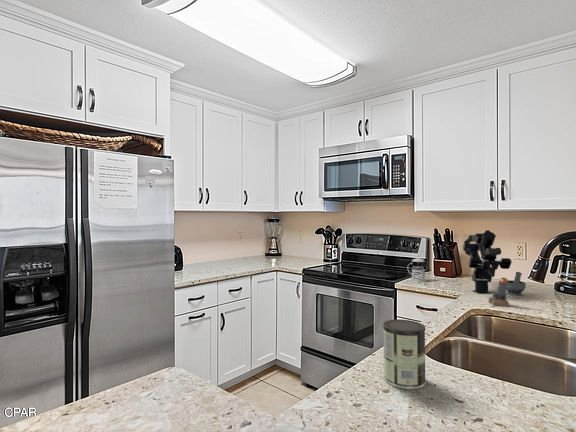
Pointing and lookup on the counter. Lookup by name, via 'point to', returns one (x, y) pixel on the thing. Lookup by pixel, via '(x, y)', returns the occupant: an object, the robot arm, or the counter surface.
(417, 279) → the french press
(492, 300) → the stand
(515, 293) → the mortar and pestle
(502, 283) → the nutcracker lever
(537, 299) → the counter surface
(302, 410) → the counter surface
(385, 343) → the coffee can
